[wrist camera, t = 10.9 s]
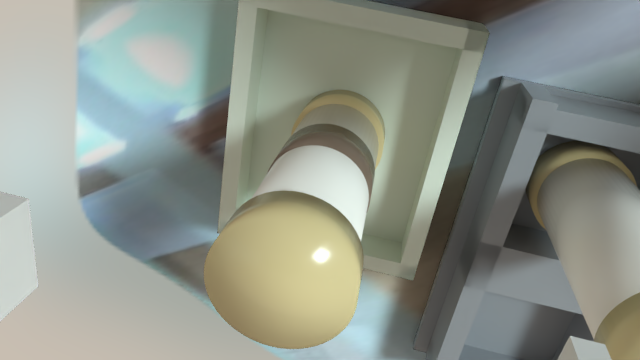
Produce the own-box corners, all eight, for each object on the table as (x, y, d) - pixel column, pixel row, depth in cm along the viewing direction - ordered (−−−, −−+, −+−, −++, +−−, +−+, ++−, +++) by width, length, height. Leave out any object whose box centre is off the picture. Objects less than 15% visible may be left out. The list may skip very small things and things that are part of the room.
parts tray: (257, -22, 23) (240, -18, 21) (482, 23, 22) (489, 32, 20) (233, 209, 28) (217, 232, 26) (413, 252, 27) (413, 280, 25)
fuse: (544, 131, 23) (656, 305, 12) (640, 152, 23) (844, 349, 12) (512, 211, 25) (585, 424, 14) (601, 231, 25) (746, 465, 14)
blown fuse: (305, 80, 24) (209, 201, 13) (394, 100, 23) (373, 240, 13) (292, 162, 26) (199, 327, 15) (374, 181, 25) (341, 364, 14)
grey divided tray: (502, 76, 23) (513, 94, 20) (713, 119, 22) (753, 144, 19) (413, 343, 30) (412, 382, 27) (570, 383, 29) (585, 427, 26)
